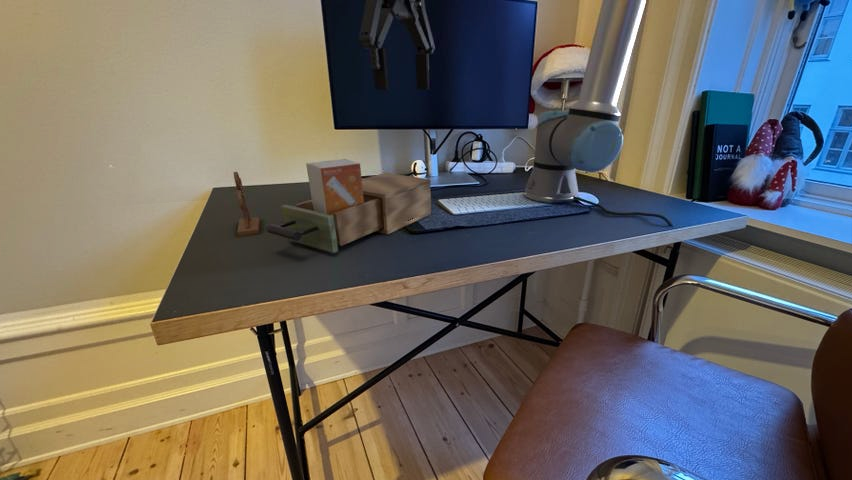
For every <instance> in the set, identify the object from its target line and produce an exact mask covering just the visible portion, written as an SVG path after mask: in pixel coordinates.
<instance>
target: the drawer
mask: <svg viewBox="0 0 852 480" xmlns="http://www.w3.org/2000/svg"><path fill="white" fill-rule="evenodd" d="M363 198H364V203H362V204H359V205H356V206H353V207H350V208H347V209H344V210H341V211H338V212H335V213H333V215H328V214H324V213H320V212H316V211H314V209H313V203H312V199H309V200H306V201H302V202H299V203H296V204H294V205H290V204H283V205H281V206H280V208H281V214H282V217H283V223H281V224H280V223H279V224H278V225H277V224H272V223H271V224H268V225H267V226H266V232H267V233H269V234H272V235H275V236H279V237H282V238H286V239H287V240H288V241H290V242H295V243H298V244H302V245H305V246H308V247H310V248H311V247H312V248H315V249H318V250H322V251H325V252H328V253H332V254H334V253H336V252H339V247H342V246H345V245H347V244H349V243H351V242H354V241H357V240H359V239H361V238H363V237H365V236H367V235H370V234H372V233H374V232H375V231H377V230H379V229H381V228H384V218H383V206H382V198H380V197H375V196H370V195H364V194H363ZM333 216H334V219H333ZM334 223H335V226H334ZM335 230H336V232H335Z"/></svg>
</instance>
